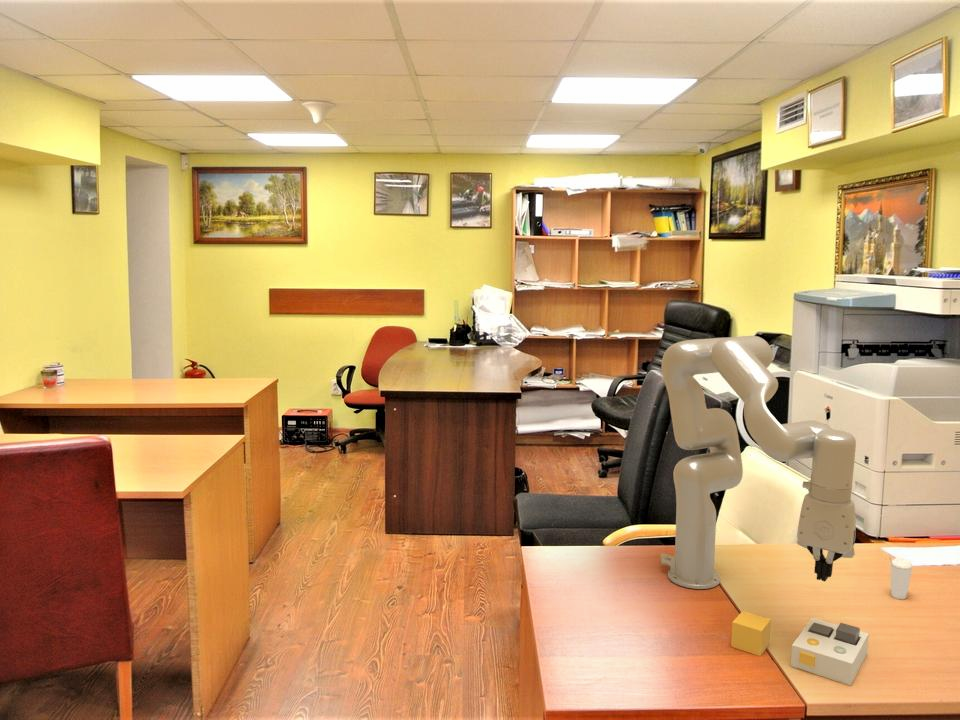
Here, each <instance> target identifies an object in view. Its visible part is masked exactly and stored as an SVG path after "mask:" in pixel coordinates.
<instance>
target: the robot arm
mask: <svg viewBox="0 0 960 720" xmlns="http://www.w3.org/2000/svg"><path fill="white" fill-rule="evenodd" d="M773 356H774V355H773V350H772V348H771V346H770V344H769V343H768V341H766V340H765V339H764V338H762V337H760V336H757V335H743V336H732V337H713V338H711V337H710V338H696V339H686V340H682V341H681V340H680V341H678V342H676V343H673V344H672V345H670V346H668V348H666V350H665V351H664V353H663V355H662V360H661V368H660V369H661V375H662V378H663V381H664V382H663V383H664V384H665V387H666V391H667V395H668V401H669V409H670V416H671V422H672V429H673V430H672V431H673V435H674V440H675V442H676V444H677V446H678V447H679V448H680V449H683V450H686V451H695V450H702V449H707V448H709V452H708V453H700V454H695V455H690V456H686V457H684V458H682V459H681V460H679V461H678V462H677V463H676V464H675V466H674V469H673V475H672V476H673V477H672V478H673V483H674V488H675V499H676V501H675V502H676V505H675V506H676V509H675V510H676V511H675V514H676V516H675V540H674V541H675V545H674V547H675V548H674V554H673V555H670V554H668V553H664V552H662V553H660V557H659V559H660V564H661V565H665V566H668V567H669V569H668V570H667V577H668V579H669V580H670V581H671V582H672V583H674V584H675V585H678V586H679V587H683V588H687V589H688V588H689V589H694V590H708V589H711V588H715V587H717V586H718V585H719V584H720V583H721V574H719V572H717V571H716V570H715V555H716V554H715V553H716V533H717V510H716V507H715V504H714V503H713V501H712V499H711V494H713V493H716V492H721V491H727V490H731V489H734V488H735V487H737V486H738V485H739V484H740V483H741V481H742V480H743V473H744V471H743V470H744V469H743V460H742V452H741V448H740V447H741V446H740V440H739V433H738V427H737V424H736V422H735V420H734V418H733V416H732V415H731V414H730V413H729V412H728V411H727V410H725V409H724V408H719V407H712V408H707V404H706V398H705V397H706V396H705V392H704V389H703V388H702V386H701V385H700V383H699V382H698V380H697V379H696V378H695V377H694V376H697V375H706V374H716V373H718V374H719V375H720V376H721V378H722V379H724V381H725V382H726V383H727V384H728V385H729V386H730V388H731V389H732V390H733V391H734V392H735V393H736V395H737V396H738V397H739V399H740V400H741V401H742V402H743V405H744V406H743V416H744V421H745V426H746V429H747V431H748V433H749V435H750V436H751V438H752V440H754V441H755V443H757V445H758V446H759V448H760V449H762V451H763V452H764V453H765V454H766V455H767V456H769V457H770V458H771V459H773V460H775V461H778V462H780V463H781V462H782V463H783V462H792V461H797V460H802V459H812V462H811V474H810V480H809V481H803V482H802V488H804V489H806V490H808V493H807V494H805V495H804V498H803V500H802V504H801V507H800V513H799V519H798V525H797V533H796V539H797V541H796V544H797V546H800V547H802V548H805V549H807V550H808V552H809V553H810V554H811V555H812V556H813V560H815V561H814V574H816V580H818V581H820V580H821V581H822V582H826V581H827V580H828V578H831V577H832V574H833V567H834V562H835V561H837V560H839V559H841V558H844V559H852V558H854V556H855V554H856V553H855V547H854V545H855V543H856V542H855V541H856V531H857V530H856V524H857V523H856V521H857V520H856V519H857V517H856V507H855V501H854V500H851V499H852V491H853V480H854V471H855V469H854V468H855V460H856V459H855V457H856V449H857V448H856V447H857V441H856V440H857V439H856V438H855V436H854V435H853V434H851V433H849V432H847V431H844V430H841V429H840V430H838V429H833V428H832V427H830V426H829V425H827V424H824V423H823V422H820V421H816V420H804V421H803V420H802V421H796V422H788V423H782V424H781V423H780V422H779V421H778V419H776V417H775V416H774V415H773V414H772V413H771V411H770V410H769V408H768V406H767V402H769V401H770V400H771V399H772V398H773V396H774V395H775V394H776V392H777V391H778V388H779V382H778V381H779V380H778V379H777V377H775V376H774V375H773V374H772V372H771V371H770V370H769V369H768V368H769V367H770V365H771V364H772V362H773ZM824 551H827V555H826V557H825V555H824Z"/></svg>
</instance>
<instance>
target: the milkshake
mask: <svg viewBox="0 0 960 720" xmlns="http://www.w3.org/2000/svg"><path fill="white" fill-rule="evenodd" d="M889 560H890V595H891V597H892V598H894V599H896V600H897V599H898V600H906V599H907V598H908V592H909V588H910V581H911V575H912V571H913V563H911V562H910V561H909V560H908V559H904V558H903V557H902V558H901V557H895V558H893V559H892V557H891V556H889Z"/></svg>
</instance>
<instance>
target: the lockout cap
mask: <svg viewBox="0 0 960 720" xmlns="http://www.w3.org/2000/svg"><path fill="white" fill-rule="evenodd" d="M731 623H732V625H731V641H730V642H731V643H730V648H731V647H732V648H734V649H737V650H740V651H744V652H747V653H750V654H753V655H756V656H759V657H761V656H762V654H763V653H764V652H765V651H766V649H767V648H768V647H769V645H770V644H771V626H772V619H771V618H768V617H764V616H760V615H758V614H754V613H750V612H747V611H744V610H742V611H741V612H740V613H739V614H738V615H737V616H736V617H735V618H734V620H733V621H732V622H731Z"/></svg>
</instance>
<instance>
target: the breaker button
mask: <svg viewBox="0 0 960 720" xmlns="http://www.w3.org/2000/svg"><path fill="white" fill-rule="evenodd" d="M838 625H839V626H838V628H837V629H836V639H835V640H838V641H842V642H845V643H849V644H852V645H855V646H856V645H857V644H858V642H859V634H860V631H861V628H860V627H858V626H855V625H851V624H847V623H843V622H840V623H839V624H838Z"/></svg>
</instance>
